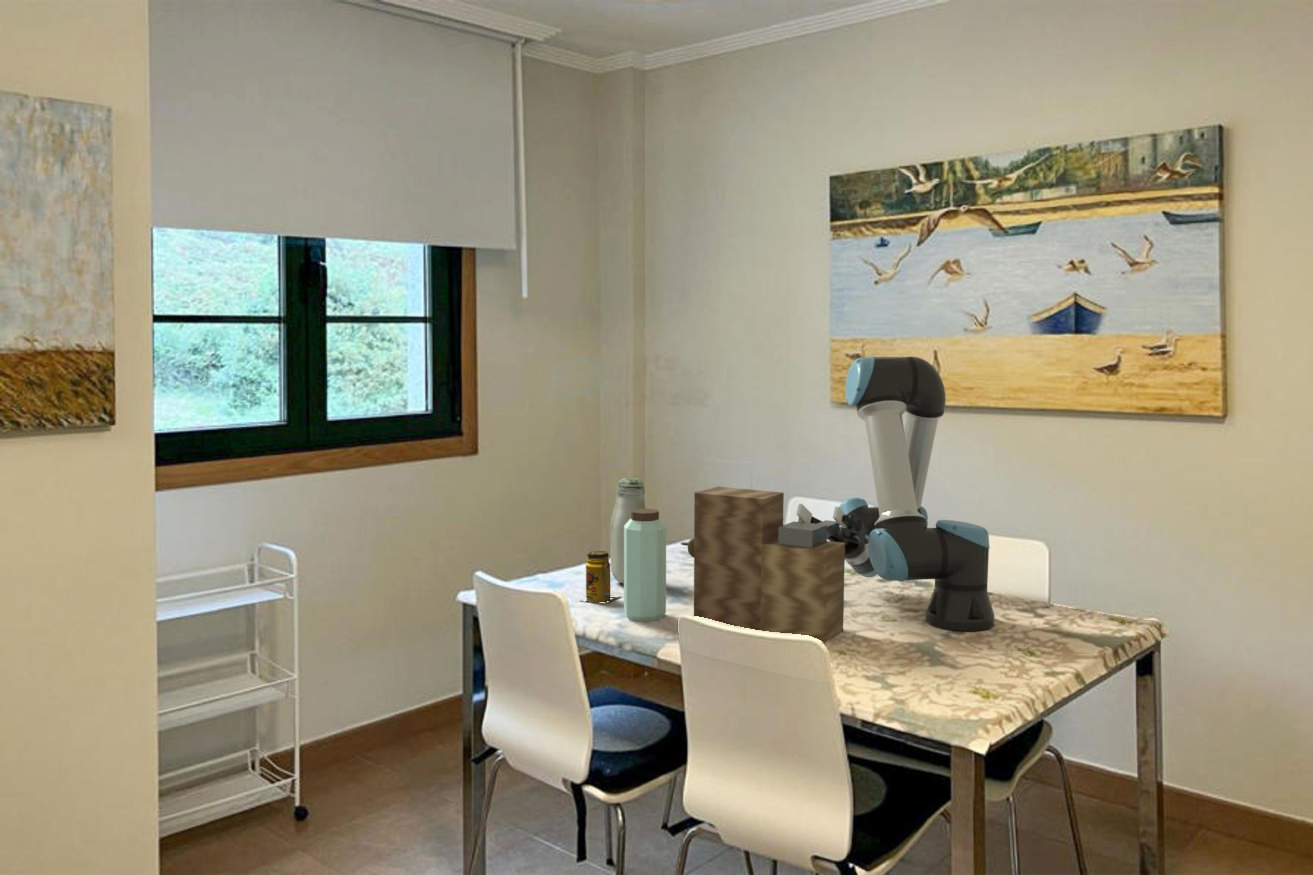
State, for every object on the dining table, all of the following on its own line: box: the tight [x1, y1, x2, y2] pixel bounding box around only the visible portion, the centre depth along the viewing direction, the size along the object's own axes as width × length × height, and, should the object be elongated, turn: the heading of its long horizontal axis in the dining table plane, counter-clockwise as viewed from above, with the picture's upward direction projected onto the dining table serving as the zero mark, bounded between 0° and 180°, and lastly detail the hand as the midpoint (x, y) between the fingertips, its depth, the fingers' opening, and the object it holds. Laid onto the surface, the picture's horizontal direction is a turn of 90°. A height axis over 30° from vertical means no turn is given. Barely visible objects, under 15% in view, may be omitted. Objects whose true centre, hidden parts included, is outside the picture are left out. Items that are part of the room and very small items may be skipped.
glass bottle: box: [609, 477, 647, 584], centre depth 287 cm, size 10×10×28 cm
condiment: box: [580, 550, 622, 605], centre depth 271 cm, size 7×8×12 cm
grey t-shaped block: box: [778, 519, 841, 549], centre depth 246 cm, size 8×21×4 cm, turn 149°
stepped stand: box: [693, 486, 846, 644], centre depth 246 cm, size 32×11×30 cm, turn 59°
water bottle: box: [623, 508, 667, 622], centre depth 254 cm, size 10×10×25 cm
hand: (817, 510), depth 249 cm, fingers open, 8 cm apart
